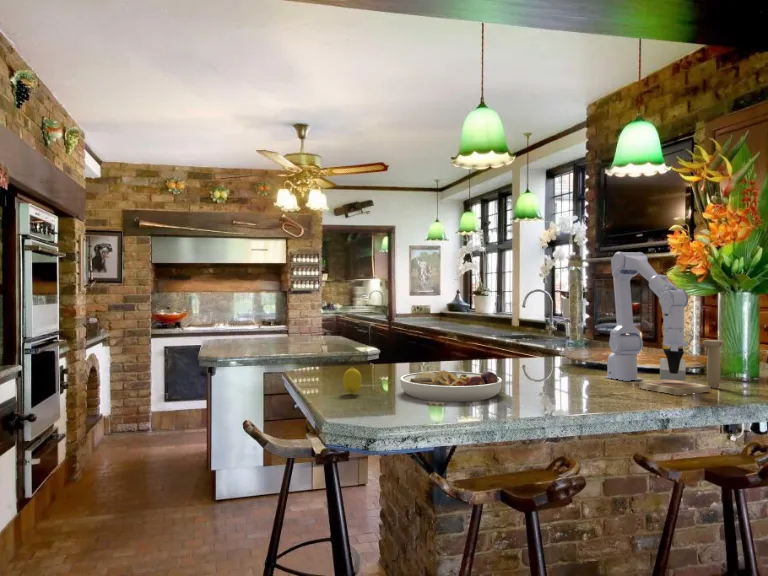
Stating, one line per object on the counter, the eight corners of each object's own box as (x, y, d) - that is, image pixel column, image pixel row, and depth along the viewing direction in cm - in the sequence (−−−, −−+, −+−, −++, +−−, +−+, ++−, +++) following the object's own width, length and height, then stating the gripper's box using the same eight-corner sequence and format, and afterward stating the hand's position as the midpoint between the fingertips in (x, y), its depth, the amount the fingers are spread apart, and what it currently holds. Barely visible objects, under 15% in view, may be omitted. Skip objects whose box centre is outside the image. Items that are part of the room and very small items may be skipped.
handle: (727, 388, 192) (727, 340, 192) (713, 389, 190) (713, 341, 190) (713, 386, 197) (713, 339, 197) (699, 387, 194) (699, 340, 194)
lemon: (359, 396, 177) (359, 368, 177) (340, 395, 178) (340, 368, 178) (363, 393, 183) (363, 366, 183) (345, 392, 184) (345, 365, 184)
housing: (685, 380, 185) (685, 360, 185) (660, 379, 188) (660, 359, 188) (684, 378, 189) (684, 359, 189) (660, 377, 192) (660, 358, 192)
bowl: (382, 398, 175) (382, 371, 175) (425, 384, 202) (425, 360, 202) (482, 408, 161) (482, 378, 161) (514, 391, 188) (514, 366, 188)
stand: (638, 388, 191) (638, 381, 191) (669, 385, 197) (669, 378, 197) (677, 395, 179) (677, 388, 179) (709, 392, 185) (709, 385, 185)
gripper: (689, 330, 180) (689, 376, 180) (686, 327, 193) (686, 370, 193) (663, 329, 183) (663, 374, 183) (662, 326, 196) (662, 369, 196)
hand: (673, 372), depth 188 cm, fingers closed on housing, 4 cm apart
